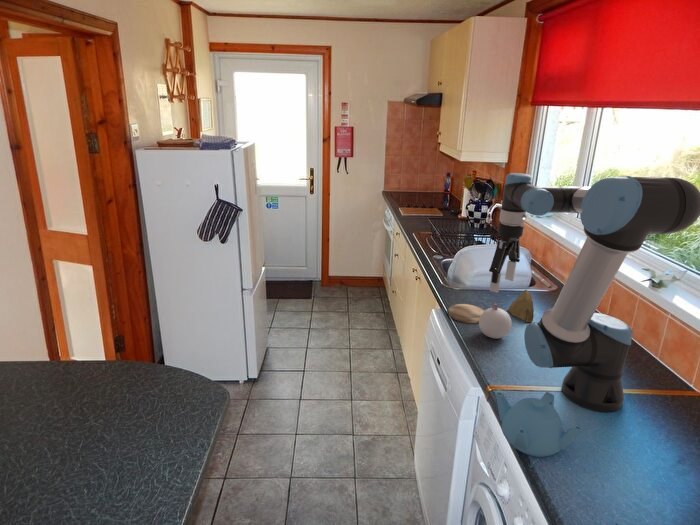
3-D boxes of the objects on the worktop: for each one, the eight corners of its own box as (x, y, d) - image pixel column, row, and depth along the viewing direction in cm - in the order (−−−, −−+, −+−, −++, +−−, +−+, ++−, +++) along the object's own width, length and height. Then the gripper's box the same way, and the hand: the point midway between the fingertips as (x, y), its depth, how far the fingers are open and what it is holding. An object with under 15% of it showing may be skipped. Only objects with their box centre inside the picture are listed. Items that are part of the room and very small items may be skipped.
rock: (541, 319, 167) (538, 305, 176) (530, 301, 165) (527, 288, 174) (514, 331, 172) (512, 316, 181) (502, 313, 170) (501, 299, 179)
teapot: (578, 463, 104) (588, 423, 100) (513, 464, 103) (521, 424, 99) (547, 419, 118) (554, 383, 114) (489, 419, 117) (495, 383, 113)
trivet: (477, 326, 165) (477, 323, 165) (441, 315, 173) (442, 312, 173) (492, 314, 176) (492, 310, 175) (458, 303, 184) (458, 300, 183)
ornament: (471, 332, 161) (475, 301, 157) (493, 327, 165) (498, 296, 161) (492, 346, 152) (497, 313, 148) (515, 340, 157) (520, 307, 153)
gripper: (508, 233, 134) (498, 300, 141) (536, 218, 153) (525, 278, 160) (484, 228, 138) (475, 293, 146) (513, 214, 157) (504, 272, 164)
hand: (501, 285), depth 153 cm, fingers open, 13 cm apart
